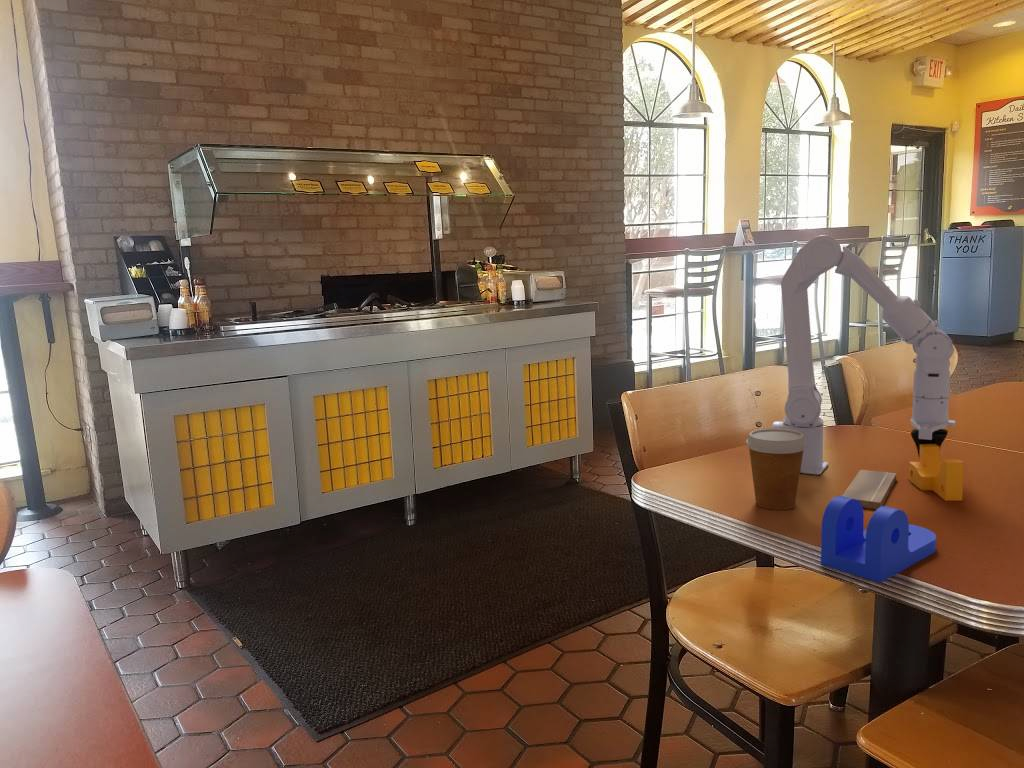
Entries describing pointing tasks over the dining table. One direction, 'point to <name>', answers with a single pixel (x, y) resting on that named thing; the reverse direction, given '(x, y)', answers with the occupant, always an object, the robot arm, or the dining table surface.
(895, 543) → the bracket
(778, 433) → the disposable coffee cup
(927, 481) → the pipe clamp
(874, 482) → the board
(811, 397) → the robot arm
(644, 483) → the dining table surface
